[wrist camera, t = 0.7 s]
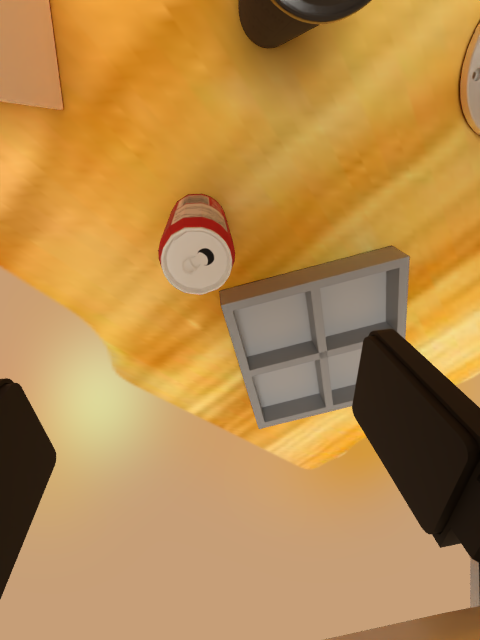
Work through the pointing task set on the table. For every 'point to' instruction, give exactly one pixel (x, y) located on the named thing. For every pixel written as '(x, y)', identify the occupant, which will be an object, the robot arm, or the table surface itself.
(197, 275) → the soda can
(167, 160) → the table surface
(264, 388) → the drink carrier
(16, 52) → the milk carton
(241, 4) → the drinking cup
